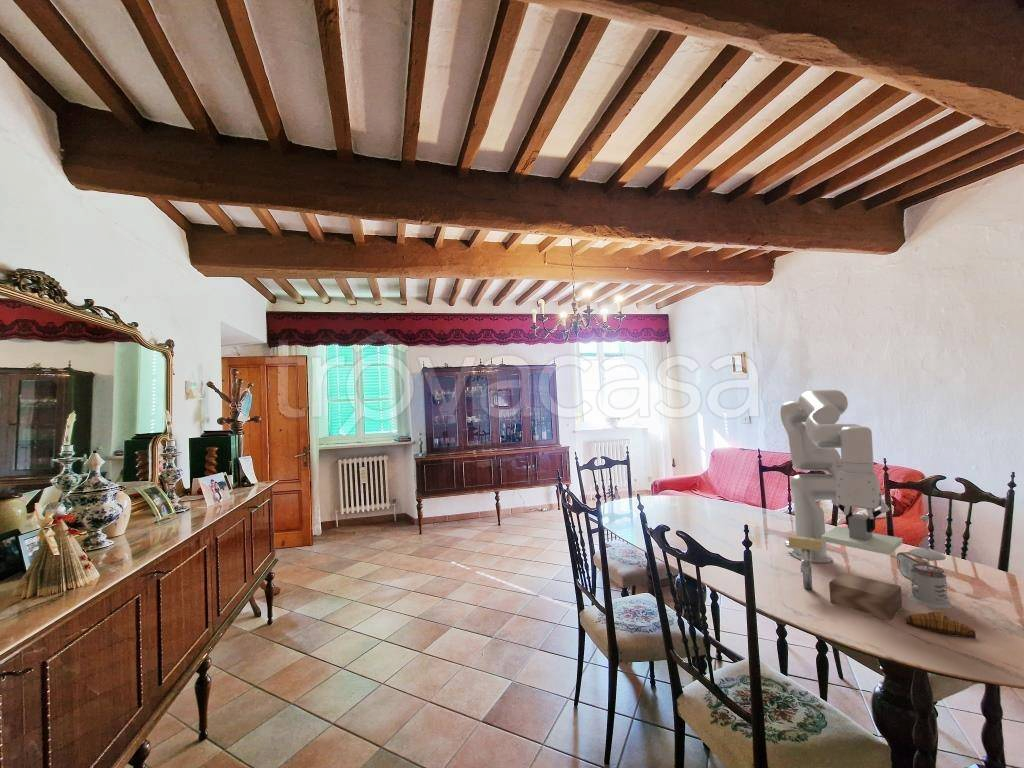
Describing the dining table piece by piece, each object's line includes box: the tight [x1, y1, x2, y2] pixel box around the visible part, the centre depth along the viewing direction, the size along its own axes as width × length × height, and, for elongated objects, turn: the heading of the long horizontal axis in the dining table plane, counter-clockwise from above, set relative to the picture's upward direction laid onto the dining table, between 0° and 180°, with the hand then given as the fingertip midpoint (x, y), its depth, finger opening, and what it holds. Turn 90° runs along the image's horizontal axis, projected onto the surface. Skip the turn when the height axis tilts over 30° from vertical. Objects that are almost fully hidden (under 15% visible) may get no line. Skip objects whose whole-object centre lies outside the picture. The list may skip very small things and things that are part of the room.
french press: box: [907, 515, 953, 609], centre depth 133 cm, size 10×12×25 cm
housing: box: [828, 571, 903, 621], centre depth 131 cm, size 14×12×6 cm
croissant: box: [904, 611, 977, 638], centre depth 116 cm, size 14×7×5 cm, turn 54°
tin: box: [895, 551, 933, 583], centre depth 146 cm, size 15×3×8 cm, turn 168°
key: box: [787, 534, 823, 590], centre depth 140 cm, size 10×9×16 cm
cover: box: [821, 513, 904, 556], centre depth 132 cm, size 16×14×8 cm
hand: (860, 529), depth 132 cm, fingers closed on cover, 4 cm apart
